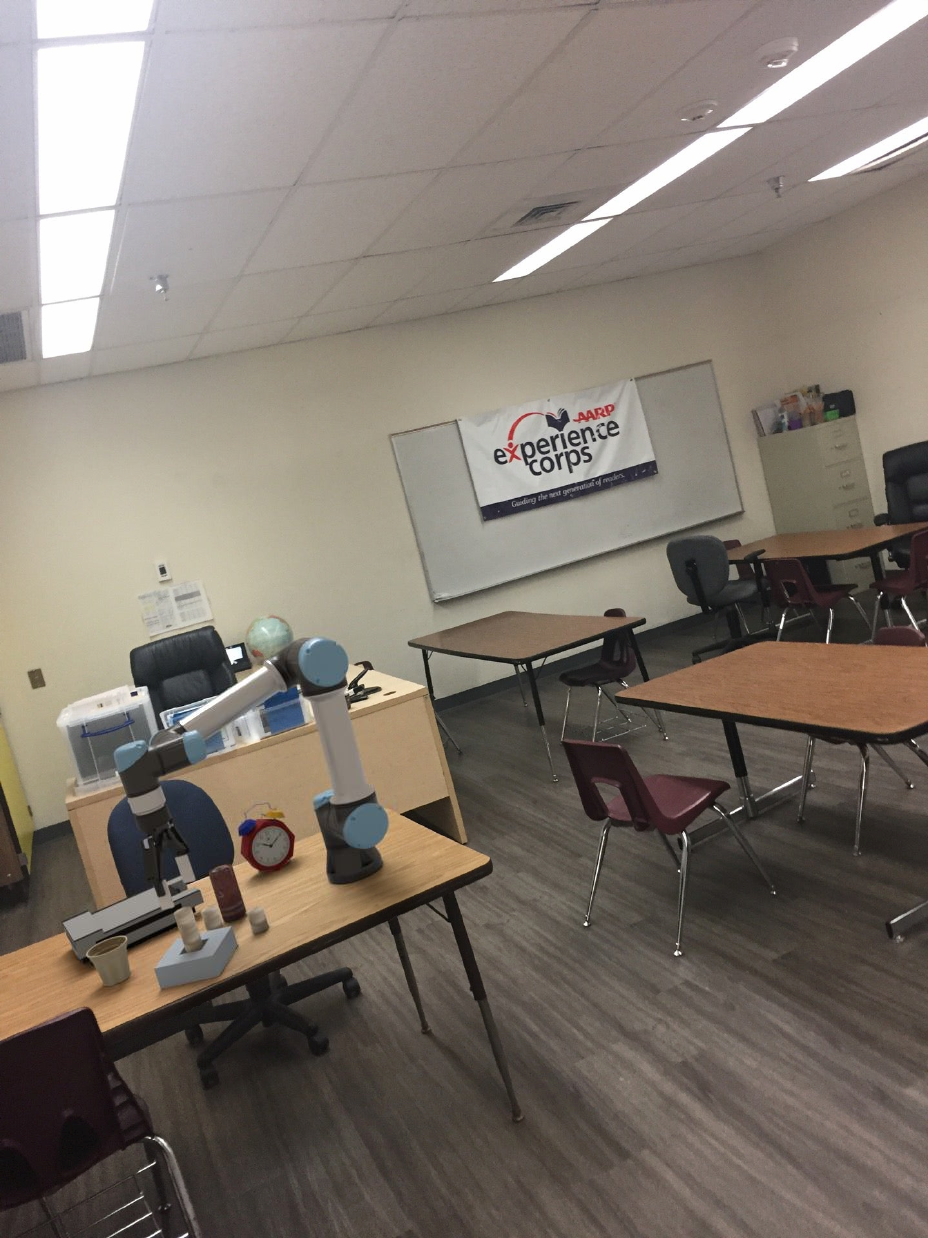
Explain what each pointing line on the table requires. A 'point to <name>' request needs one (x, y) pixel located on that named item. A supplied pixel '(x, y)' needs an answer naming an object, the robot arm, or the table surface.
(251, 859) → the alarm clock
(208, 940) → the hole block
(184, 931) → the dowel long
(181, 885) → the game console
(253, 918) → the dowel short
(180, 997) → the table surface
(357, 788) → the robot arm
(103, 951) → the flower pot
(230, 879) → the can
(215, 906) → the dowel medium
